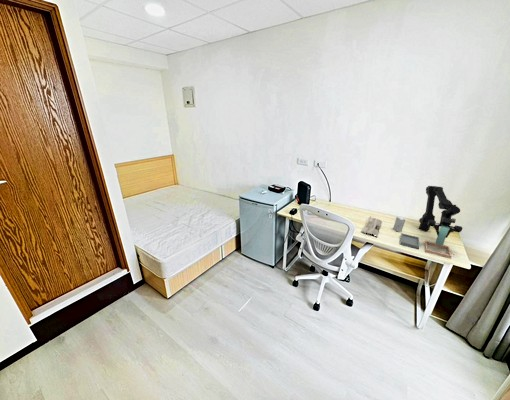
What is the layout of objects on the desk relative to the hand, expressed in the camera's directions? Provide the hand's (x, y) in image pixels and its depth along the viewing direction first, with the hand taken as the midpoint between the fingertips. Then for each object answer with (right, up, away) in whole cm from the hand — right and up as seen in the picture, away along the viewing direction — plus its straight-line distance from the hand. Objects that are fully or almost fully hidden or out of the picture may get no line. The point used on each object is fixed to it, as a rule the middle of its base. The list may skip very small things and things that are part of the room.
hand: (442, 236), depth 156 cm
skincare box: (-10, 0, +34) cm, 36 cm away
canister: (+1, -6, +3) cm, 7 cm away
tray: (-12, -7, +16) cm, 21 cm away
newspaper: (-29, +1, +40) cm, 49 cm away
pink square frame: (+1, -11, +6) cm, 13 cm away
